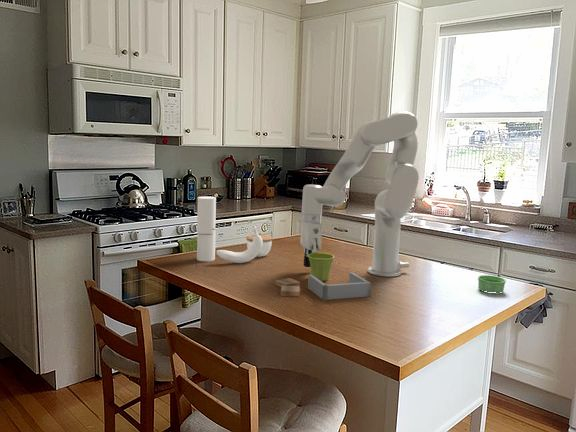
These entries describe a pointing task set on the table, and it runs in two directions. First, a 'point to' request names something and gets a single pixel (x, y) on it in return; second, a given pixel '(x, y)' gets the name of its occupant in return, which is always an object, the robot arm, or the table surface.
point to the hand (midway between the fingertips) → (308, 266)
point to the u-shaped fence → (340, 288)
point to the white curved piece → (245, 255)
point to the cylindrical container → (206, 228)
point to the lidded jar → (265, 245)
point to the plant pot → (320, 265)
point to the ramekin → (491, 283)
